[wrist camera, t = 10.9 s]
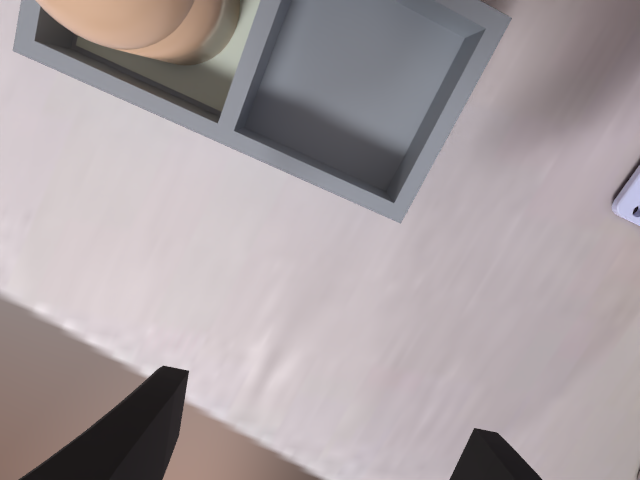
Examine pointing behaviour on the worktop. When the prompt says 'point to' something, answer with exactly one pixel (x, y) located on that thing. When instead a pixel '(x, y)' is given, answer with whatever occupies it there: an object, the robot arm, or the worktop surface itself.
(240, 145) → the divided tray
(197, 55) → the tan capsule
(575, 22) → the worktop surface
